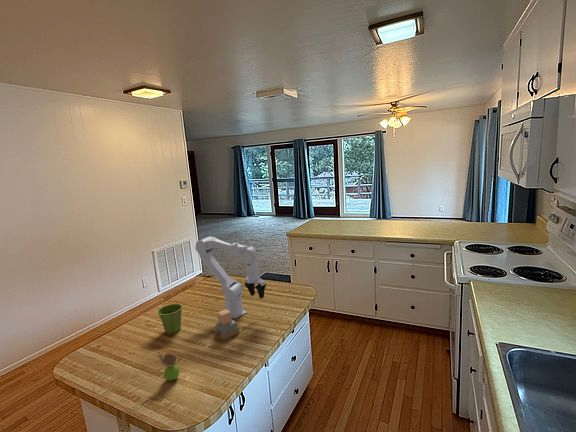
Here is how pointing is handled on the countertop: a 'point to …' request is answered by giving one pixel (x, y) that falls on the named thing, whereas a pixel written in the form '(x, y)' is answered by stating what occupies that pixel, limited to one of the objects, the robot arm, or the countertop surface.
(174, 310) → the plant pot
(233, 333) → the base slab
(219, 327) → the top slab
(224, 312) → the terracotta block
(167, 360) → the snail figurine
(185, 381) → the countertop surface
